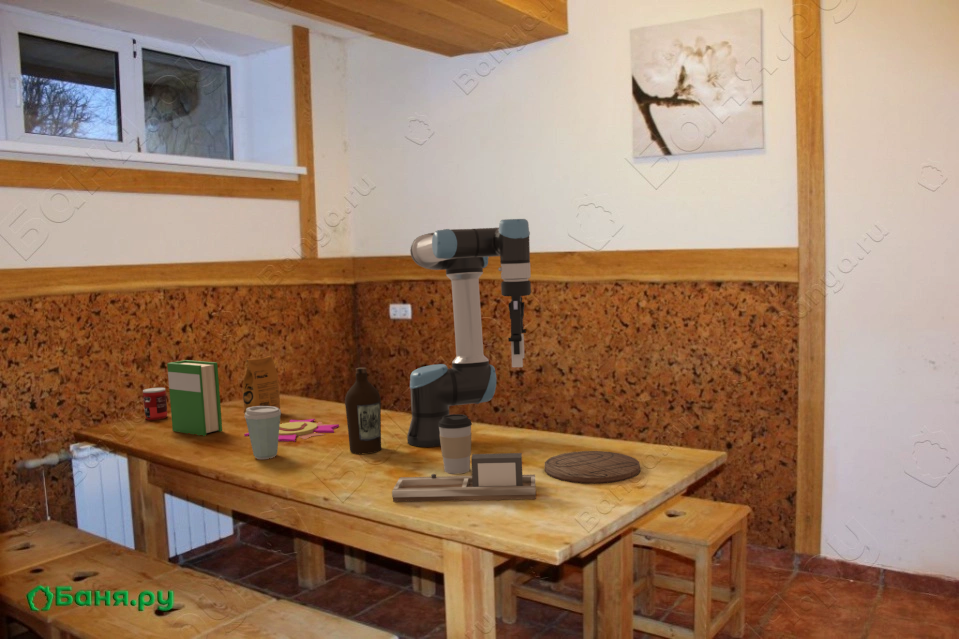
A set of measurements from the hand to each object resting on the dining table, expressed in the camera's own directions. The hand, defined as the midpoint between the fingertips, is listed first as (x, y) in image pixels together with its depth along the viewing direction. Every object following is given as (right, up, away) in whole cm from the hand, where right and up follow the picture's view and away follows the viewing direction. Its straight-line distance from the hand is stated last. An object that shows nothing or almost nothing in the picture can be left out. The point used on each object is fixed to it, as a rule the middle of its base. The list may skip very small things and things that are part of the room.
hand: (518, 362), depth 199 cm
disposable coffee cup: (-74, -30, +31) cm, 86 cm away
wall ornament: (-73, -28, +63) cm, 101 cm away
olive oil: (-44, -29, +34) cm, 63 cm away
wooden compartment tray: (-13, -31, -11) cm, 36 cm away
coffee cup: (-16, -30, +9) cm, 35 cm away
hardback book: (-108, -28, +70) cm, 132 cm away
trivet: (+20, -29, +5) cm, 35 cm away
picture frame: (-6, -30, -11) cm, 32 cm away
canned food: (-133, -27, +95) cm, 166 cm away
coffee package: (-92, -25, +92) cm, 132 cm away
